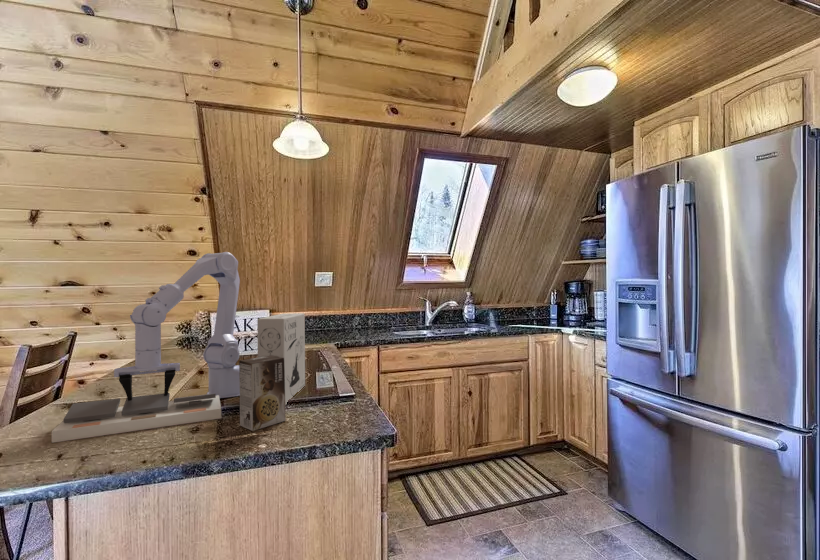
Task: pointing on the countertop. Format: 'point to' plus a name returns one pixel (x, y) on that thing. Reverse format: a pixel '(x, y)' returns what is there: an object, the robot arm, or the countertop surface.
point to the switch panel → (140, 420)
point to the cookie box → (262, 392)
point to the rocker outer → (92, 410)
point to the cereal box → (285, 347)
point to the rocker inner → (194, 398)
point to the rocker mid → (146, 404)
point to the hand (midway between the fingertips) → (148, 401)
